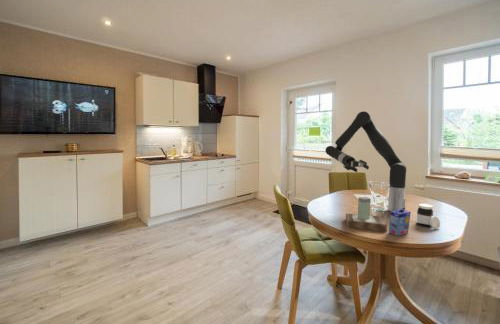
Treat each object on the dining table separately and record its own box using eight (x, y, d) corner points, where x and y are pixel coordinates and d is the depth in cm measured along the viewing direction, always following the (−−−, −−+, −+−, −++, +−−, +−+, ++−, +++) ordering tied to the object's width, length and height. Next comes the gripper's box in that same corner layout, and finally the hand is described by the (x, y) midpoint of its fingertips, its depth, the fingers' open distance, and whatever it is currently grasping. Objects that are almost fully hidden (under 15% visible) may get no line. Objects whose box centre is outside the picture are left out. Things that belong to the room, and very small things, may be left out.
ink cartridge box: (398, 236, 132) (400, 209, 130) (388, 232, 137) (389, 207, 135) (409, 233, 136) (411, 207, 134) (399, 229, 141) (401, 204, 139)
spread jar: (417, 220, 154) (418, 202, 153) (440, 224, 147) (442, 205, 146) (414, 226, 145) (416, 207, 144) (439, 231, 138) (441, 210, 137)
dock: (381, 222, 151) (381, 215, 151) (386, 231, 138) (387, 224, 138) (345, 219, 157) (346, 212, 156) (347, 227, 144) (348, 220, 143)
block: (365, 216, 150) (366, 197, 148) (369, 218, 146) (370, 198, 144) (357, 217, 149) (358, 197, 147) (361, 219, 145) (362, 199, 143)
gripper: (337, 156, 170) (353, 166, 155) (355, 153, 173) (372, 161, 159) (337, 166, 173) (352, 176, 158) (354, 162, 176) (371, 172, 162)
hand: (362, 169), depth 159 cm, fingers open, 8 cm apart
